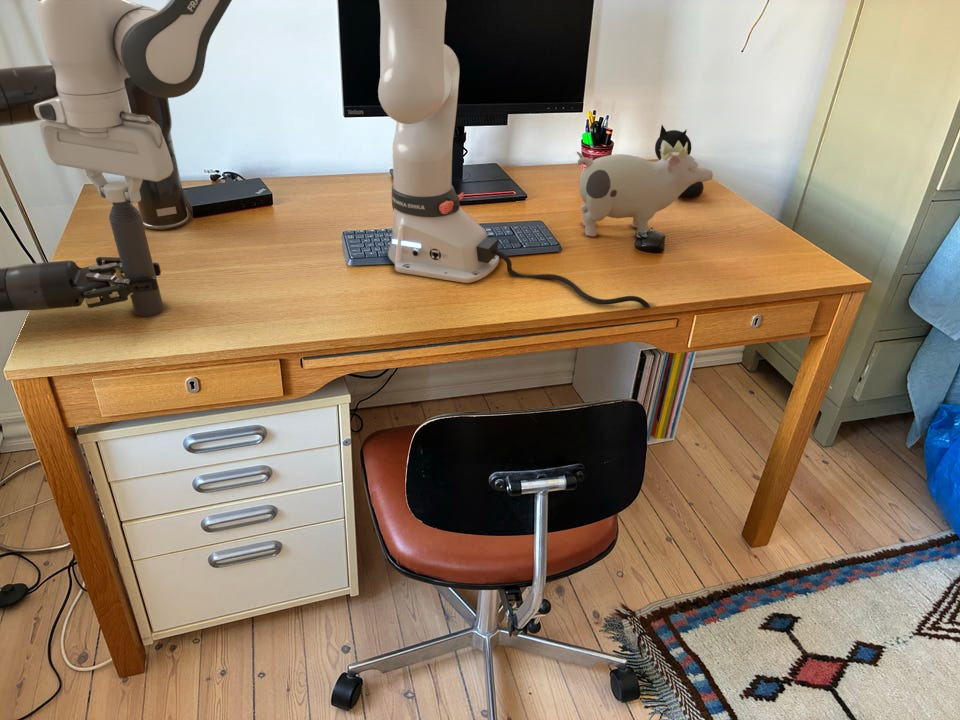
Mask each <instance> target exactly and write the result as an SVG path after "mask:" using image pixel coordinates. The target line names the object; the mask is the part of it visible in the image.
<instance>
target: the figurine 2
mask: <svg viewBox="0 0 960 720" xmlns="http://www.w3.org/2000/svg"><path fill="white" fill-rule="evenodd" d="M687 131H688V129H687V128H686V129H684V131H680V130H676V129H672V130H666V129H665V126H664V125H663V124H661V127H660V132H659V137H658V138H657V139H656V142H655V144H654V152H655V156H656V158H657V160H658V161H659V160H661V152H660V149H661V144H662V141H663V140H664V141H666V142H667V143H669V144H670V145H671V146H672V148H674V146H675V145H676V143H677V141H678V140H679V141H680V143H681V145H682V146H683V148H684V147H685V145H686V143H687V142H688V147H687V151H688V153H687V154H688V155H689V156H691V152H692V141H691V139H690V138H689V136H688V135H687ZM704 189H705V187H704V182H696V183H694V184H692V185H690V186H689V187H688V188H687V189H686V190H685V191H684V192H683V193H682V194H680V196H679V197H678V198H677V199H688V200H689V199H697V198H699V197H700V196H701V195H702V194H703V192H704Z"/></svg>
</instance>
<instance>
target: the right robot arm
mask: <svg viewBox="0 0 960 720" xmlns="http://www.w3.org/2000/svg"><path fill="white" fill-rule="evenodd" d="M232 1H233V0H167V2H166V4H165V5H164V6H163V7H161V8H160V9H155V8H153V7H151V6H147V5H143V4H138V3H135V2H132V1H129V0H37V2H36V13H37V19H38V26H39V30H40V34H41V39H42V42H43V46H44V50H45V53H46V56H47V57H46V58H47V59H48V61H49V63H50V65H52V66H53V68H54V71H55V74H56V89H57V92H58V96H55V98H52V99H49V100H46V101H43V102H40V103H38V104H35V105H34V110H35V113H36V115H37V117H38V118H39V119H41V120H40V124H39V129H40V134H41V137H42V141H43V144H44V148H45V150H46V151H45V152H46V154H47V156H48V158H50V159H49V160H51V161H52V162H53V163H54V164H55V165H57V166H62V167H69V168H74V169H79V170H85V174H86V176H87V178H88V179H89V180H90V182H91V183H92V184H93V186H94V187H95V188H96V191H97V194H98V197H99V198H102V199H103V198H104V199H106V196H105V192H104V185H105V184H107V183H108V181H107V180H106V177H105V176H104V174H110V175H115V176H122V177H124V179H125V180H124V181H126V182H127V183H129V188H128V190H127V191H124V192H123V193H124V196H125V200H126V202H130V203H131V204H138V203H137V202H139V201H140V200H141V196H140V191H139V189H140V187H141V184H142V181H143V179H144V180H150V181H156V182H158V181H161V180H163V179H165V178H167V177H169V176H170V175H171V174H172V172H173V164H172V160H171V157H170V154H169V151H168V148H167V145H166V142H165V139H164V137H163V135H162V132H161V128H160V126H159V125H158V124H157V123H156V122H155V121H153V120H152V119H151V118H150V117H149V116H146V115H136V114H133V113H131V109H130V105H129V101H128V96H127V92H126V88H125V84H124V80H125V79H126V78H128V77H130V78H131V79H132V80H133V82H134V83H135V84H136V85H137V86H138V87H139V88H141V89H142V90H144V91H145V92H147V93H149V94H151V95H154V96H157V97H162V98H168V99H174V98H179V97H182V96H184V95H186V94H187V93H189V92H191V91H192V90H193V89H194V88H195V87H196V86H197V85H198V84H199V82H200V80H201V79H202V76H203V72H204V68H205V64H206V57H207V51H208V46H209V43H210V40H211V38H212V37H213V33H214V32H215V30H216V28H217V26H218V25H219V23H220V21H221V20H222V19H223V17H224V15H225V13H226V11H227V10H228V8H229V6H230V5H231V3H232ZM378 2H379V13H380V36H379V37H380V38H379V42H380V43H379V56H380V57H379V61H380V68H379V69H380V70H379V71H380V77H379V82H378V89H377V93H378V96H377V97H378V101H379V103H380V106H381V108H382V109H383V111H384V112H385V113H386V115H387V116H388V117H390V119H392V120H393V121H395V122H396V125H395V130H394V137H393V140H392V146H391V147H392V150H391V151H392V173H393V174H392V177H393V184H392V185H391V206H392V207H391V208H392V211H393V219H392V220H393V221H392V223H393V224H392V231H391V238H390V243H389V247H388V250H387V257H388V259H389V260H390V261H391V263H393V265H394V270H395V271H396V272H397V273H401V274H408V275H413V276H419V277H426V278H431V279H438V280H445V281H451V282H457V283H462V284H463V283H464V284H470V283H474V282H477V281H479V280H482V279H484V278H485V277H487V276H488V275H490V274H491V273H492V272H493V271H494V270H495V269H496V268H497V267H498V265H499V264H500V258H501V260H503V261H504V262H505V263H506V270H507V273H508V274H509V275H511V276H512V277H514V278H521V279H522V278H525V279H538V280H554V281H559V282H561V283H562V284H563V283H564V284H565V285H567V286H569V287H570V288H571V289H572V290H573V291H574V292H575V293H576V294H578V296H580V297H582V299H584V300H586V301H587V302H591V303H593V304H597V305H602V306H603V305H604V306H608V305H615V304H619V303H626V302H635V303H639V304H640V305H642V306H643V307H644V308H651V305H650V304H649V303H648V301H646V300H645V299H644V298H642V297H641V296H636V295H625V296H619V297H614V298H606V299H605V298H597V297H594V296H592V295H589V294H588V293H586V292H585V291H584V290H582V289H581V288H580V287H579V286H578V285H576V283H574V282H573V281H572V280H570V279H568V278H566V277H564V276H561V275H557V274H552V273H539V274H522V273H519V272H518V271H515V270H514V269H513V267H512V265H513V263H512V260H511V258H510V257H509V256H508V255H506V254H505V253H504V252H502V251H500V250H498V248H499V239H496V238H492V237H488V235H487V232H486V229H484V228H483V226H481V224H479V223H478V221H476V220H475V219H474V218H472V217H471V216H470V214H468V212H466V211H465V210H464V209H463V208H462V207H461V204H460V201H461V200H463V199H464V191H462V192H461V193H459V194H457V192H456V190H455V188H454V185H453V184H452V182H453V181H452V180H453V179H452V178H453V143H454V134H455V127H456V118H457V110H458V109H457V108H458V97H459V86H460V85H459V84H460V73H461V69H460V68H461V67H460V62H459V58H458V57H457V55H456V53H455V52H454V50H453V49H452V48H451V47H450V46H449V45H447V44H445V28H446V27H445V24H446V23H445V22H446V12H447V0H378ZM150 122H151V123H150ZM152 123H153V124H152ZM103 173H104V174H103Z"/></svg>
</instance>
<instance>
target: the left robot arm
mask: <svg viewBox="0 0 960 720" xmlns="http://www.w3.org/2000/svg"><path fill="white" fill-rule="evenodd" d="M124 84H125V88H126V92H127V96H128V101H129V105H130V109H131V113H133V114H136V115H146V116H149V117H150V118H151V119H152V120H153V121H155V122H156V123H157V124H158V125H159V126H160V128H161V132H162V135H163V137H164V139H165V142H166V145H167V148H168V151H169V154H170V157H171V160H172V164H173V172H172V174H171V175H170V176H169V177H167V178H165V179H163V180H161V181H158V182H156V181H150V180H144V179H143V181H142V184H141V187H140V189H139V191H140V196H141V200H140V201H139V202H137V203H136V204H137V207H138V211H139V213H140V214H141V217H142V222H143V226H144V228H146V229H149V230H158V231H161V230H162V231H164V230H172V229H176V228H179V227H181V226H184V225H185V224H187V223H188V222H189V220H190V217H189V213H188V209H187V204H186V199H185V195H184V189H183V185H182V181H181V176H180V172H179V171H180V170H179V166H178V161H177V157H176V153H175V147H174V143H173V137H172V127H173V121H172V120H173V119H172V115H171V108H170V102H169V98H162V97H157V96H154V95H151V94H149V93H147V92H145V91H144V90H142V89H141V88H139V87H138V86H137V85H136V84H135V83H134V82H133V80H132V79H131V78H130V77H128V78H126V79H125V80H124ZM55 96H58V92H57V89H56V74H55V71H54V68H53V66H52V64H44V65H28V66H15V67H14V66H12V67H4V68H0V127H10V126H16V125H22V124H30V123H35V122H41V121H42V120H41V119H39V118H38V117H37V115H36V113H35V110H34V105H35V104H38V103H40V102H43V101H46V100H49V99H52V98H55ZM150 123H151V122H150ZM152 124H153V123H152ZM95 261H96V264H94V265H89V266H86V267H80V266H79V265H78V264H77V263H76V262H75V261H73V260H71V259H70V260H69V259H68V260H59V261H47V262H45V261H44V262H33V263H25V264H24V263H23V264H19V265H14V266H5V267H4V266H3V267H0V313H7V312H17V311H18V312H19V311H45V310H52V309H53V310H54V309H55V310H56V309H64V308H75V307H81V305H83V302H84V300H85V303H86V305H87V308H88V309H93V308H98V307H103V306H108V305H113V304H117V303H122V302H126V301H128V300H129V296H130V295H132V294H134V292H143V291H154V290H157V289H158V286H159V283H157V282H158V279H156V278H157V277H159V276H161V273H162V270H161V266H160V263H159V262H158V261H157V262H156V261H155V262H153V266H154V270H155V274H156V278H155V277H143V278H132V279H131V281H130V279H126V278H125V275H124V271H123V268H122V264H121V260H120V257H117V256H116V257H114V256H98V257H96V258H95Z"/></svg>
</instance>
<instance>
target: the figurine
mask: <svg viewBox="0 0 960 720" xmlns="http://www.w3.org/2000/svg"><path fill="white" fill-rule="evenodd" d="M687 147H688V142H687V143H686V145H685V147H684V148H683V146H682V145H681V143H680V141H679V140H678V141H677V143H676V145H675V146H674V148H672V146H671V145H670V144H669V143H667V142H666V141H664V140H663V141H662V144H661V149H660V152H661V160H659V159H658V161H651V160H648V159H646V158H643V157H641V156H637V155H631V154H624V153H623V154H621V153H616V154H609V155H608V154H607V155H604V156H600V157H597V158H595V159H593V160H592V159H590V158H589V157H585V156H584V154H582V153H581V152H579V151H576V154H577V156H579V158H578V160H577V163H576V164H577V165H578V166H581V165H583V164H584V165H585V167H584V168H583V170H582V172H581V174H580V177H579V182H578V183H579V186H578V187H579V195H580V198H581V200H582V202H583V203H584V204H582V205H581V206H580V210H581V214H582V225H583V226H584V232H585V233H584V234H585V235H586V236H588V237H596V236H597V229H596V228H597V227H596V226H597V222H601V221H603V220H605V218H606V217H608V218H611V219H612V218H613V219H625V218H632V222H631V226H632V227H633V228H636V233H635V237H636V238H640V239H642V238H641V237H640V236H639V235H638V234H637V233H638V232H645V231H648V232H649V230H648V224H649V221H650V220H652V219H653V217H654V216H655V215H656V213H658V212H660V211H662V210H664V209H666V208H668V207H669V206H671V205H672V204H673V203H674V202H675V201H676V200H678V199H679V198H678V197H679V196H680V194H682V193H683V192H684V191H685V190H686V189H687V188H688V187H689V186H690V185H692V184H694V183H696V182H703V183H704V182H708V181H711V180H712V179H713V177H714V175H713V171H712V170H711V169H708V168H702V167H700V168H699V164H698V163H697V161H696V160H695V158H694V157H693V156H692V155H688V154H687V153H688V151H687Z"/></svg>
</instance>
